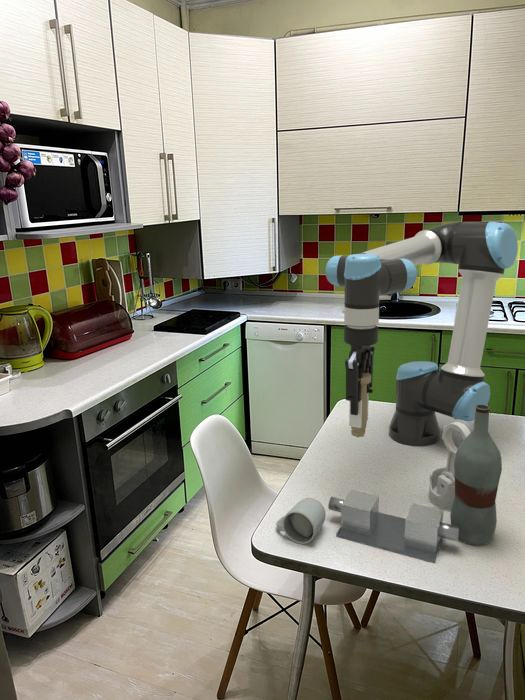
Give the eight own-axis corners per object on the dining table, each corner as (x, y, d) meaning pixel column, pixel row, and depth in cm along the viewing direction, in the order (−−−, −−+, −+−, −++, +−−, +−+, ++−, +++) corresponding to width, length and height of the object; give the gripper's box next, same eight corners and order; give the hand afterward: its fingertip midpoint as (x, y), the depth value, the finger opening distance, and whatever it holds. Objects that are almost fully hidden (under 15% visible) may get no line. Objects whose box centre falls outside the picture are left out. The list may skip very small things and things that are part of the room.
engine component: (451, 485, 135) (420, 494, 131) (457, 411, 130) (424, 418, 126) (484, 506, 126) (451, 517, 122) (491, 427, 120) (457, 436, 116)
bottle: (448, 543, 113) (458, 412, 105) (449, 519, 121) (457, 396, 113) (496, 551, 110) (510, 417, 102) (493, 525, 118) (506, 400, 110)
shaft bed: (339, 505, 128) (339, 480, 126) (461, 534, 116) (463, 508, 114) (321, 532, 118) (321, 506, 116) (452, 568, 105) (455, 539, 104)
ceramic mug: (328, 527, 120) (327, 497, 118) (314, 548, 113) (314, 516, 111) (285, 517, 125) (284, 488, 123) (270, 536, 118) (268, 506, 116)
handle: (362, 428, 128) (364, 369, 124) (373, 439, 122) (375, 377, 118) (343, 430, 127) (344, 371, 123) (353, 441, 121) (355, 379, 117)
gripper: (357, 316, 126) (355, 407, 132) (330, 332, 112) (329, 433, 118) (388, 318, 123) (385, 412, 129) (364, 335, 108) (362, 440, 115)
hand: (358, 422), depth 124 cm, fingers closed on handle, 4 cm apart
